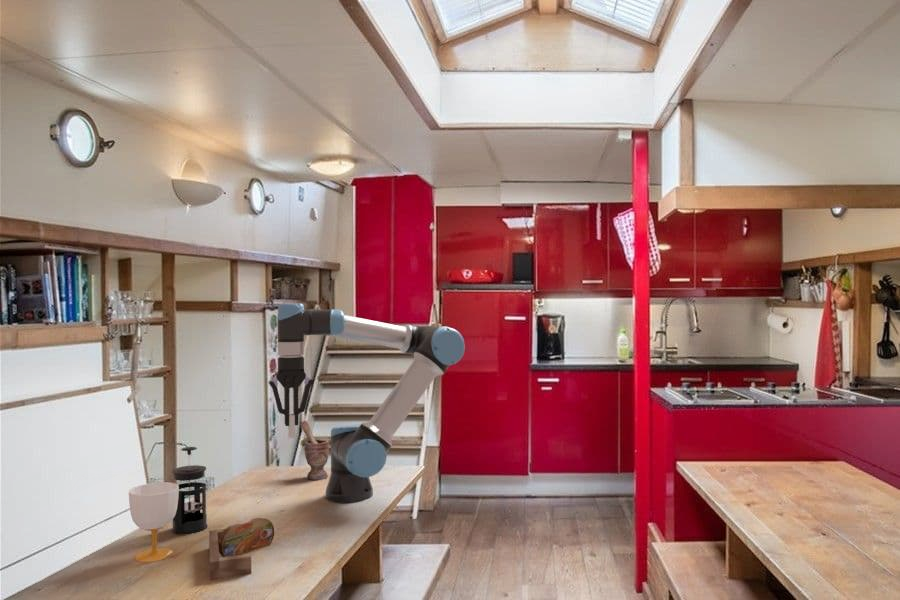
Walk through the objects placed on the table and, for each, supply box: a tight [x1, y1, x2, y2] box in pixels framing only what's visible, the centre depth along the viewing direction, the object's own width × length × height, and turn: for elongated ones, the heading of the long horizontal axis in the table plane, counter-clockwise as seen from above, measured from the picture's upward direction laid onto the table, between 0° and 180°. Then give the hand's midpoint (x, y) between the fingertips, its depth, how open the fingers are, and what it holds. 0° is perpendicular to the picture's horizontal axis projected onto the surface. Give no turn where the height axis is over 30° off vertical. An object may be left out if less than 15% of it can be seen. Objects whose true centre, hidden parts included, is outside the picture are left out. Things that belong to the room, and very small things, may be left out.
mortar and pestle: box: [300, 420, 330, 481], centre depth 242 cm, size 12×9×20 cm
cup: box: [128, 481, 180, 563], centre depth 169 cm, size 12×12×17 cm
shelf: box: [208, 528, 252, 581], centre depth 164 cm, size 9×22×5 cm, turn 20°
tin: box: [218, 517, 275, 557], centre depth 170 cm, size 15×3×8 cm, turn 139°
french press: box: [171, 446, 208, 535], centre depth 188 cm, size 12×9×23 cm
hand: (291, 436), depth 196 cm, fingers closed
